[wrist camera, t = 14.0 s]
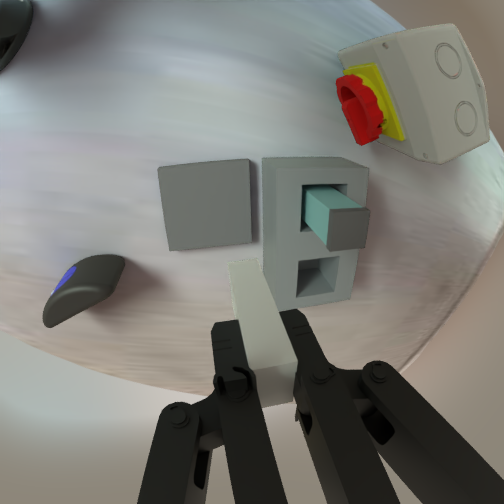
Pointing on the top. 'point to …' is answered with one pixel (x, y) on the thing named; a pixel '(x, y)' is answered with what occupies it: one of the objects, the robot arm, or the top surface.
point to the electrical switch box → (415, 93)
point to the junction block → (306, 231)
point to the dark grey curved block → (83, 287)
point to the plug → (334, 217)
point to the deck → (206, 203)
